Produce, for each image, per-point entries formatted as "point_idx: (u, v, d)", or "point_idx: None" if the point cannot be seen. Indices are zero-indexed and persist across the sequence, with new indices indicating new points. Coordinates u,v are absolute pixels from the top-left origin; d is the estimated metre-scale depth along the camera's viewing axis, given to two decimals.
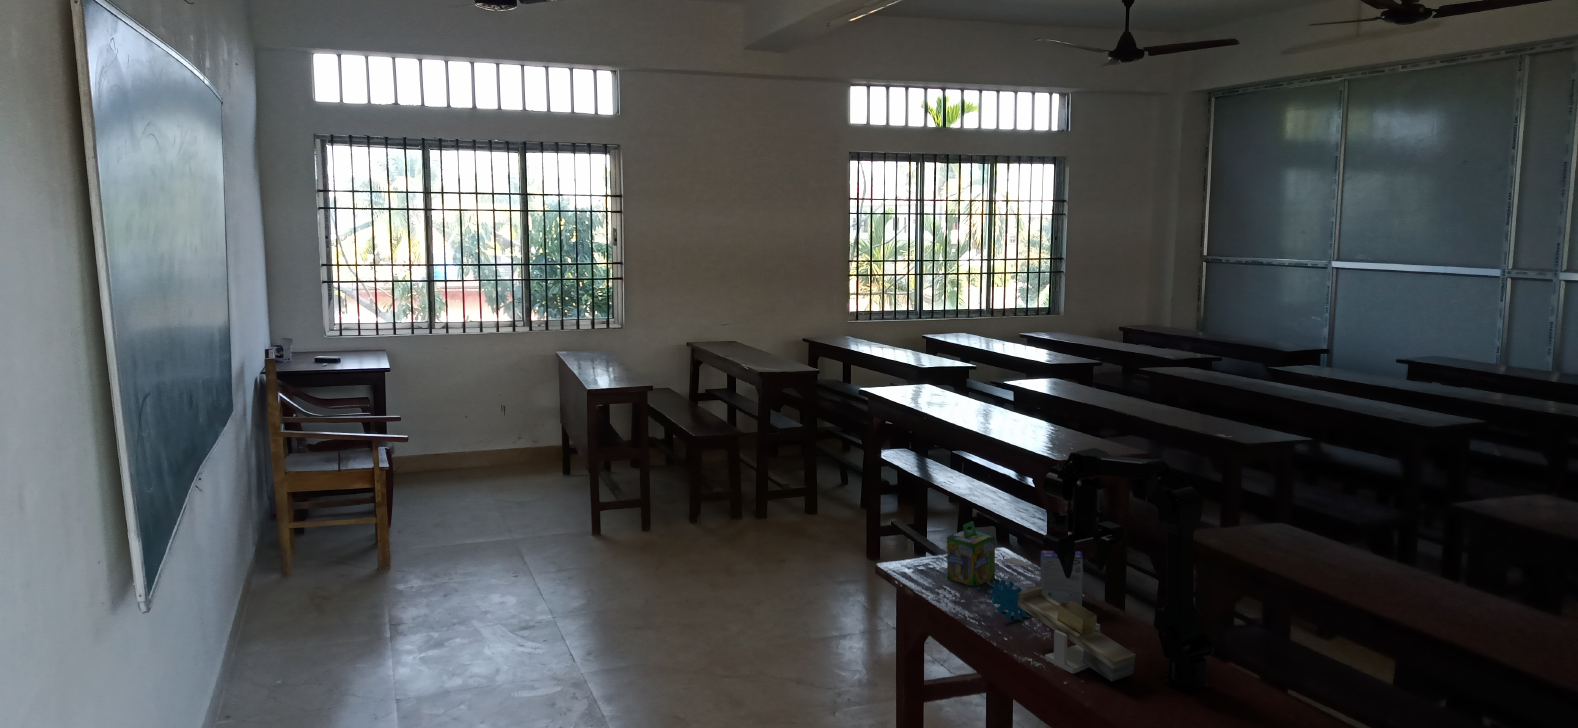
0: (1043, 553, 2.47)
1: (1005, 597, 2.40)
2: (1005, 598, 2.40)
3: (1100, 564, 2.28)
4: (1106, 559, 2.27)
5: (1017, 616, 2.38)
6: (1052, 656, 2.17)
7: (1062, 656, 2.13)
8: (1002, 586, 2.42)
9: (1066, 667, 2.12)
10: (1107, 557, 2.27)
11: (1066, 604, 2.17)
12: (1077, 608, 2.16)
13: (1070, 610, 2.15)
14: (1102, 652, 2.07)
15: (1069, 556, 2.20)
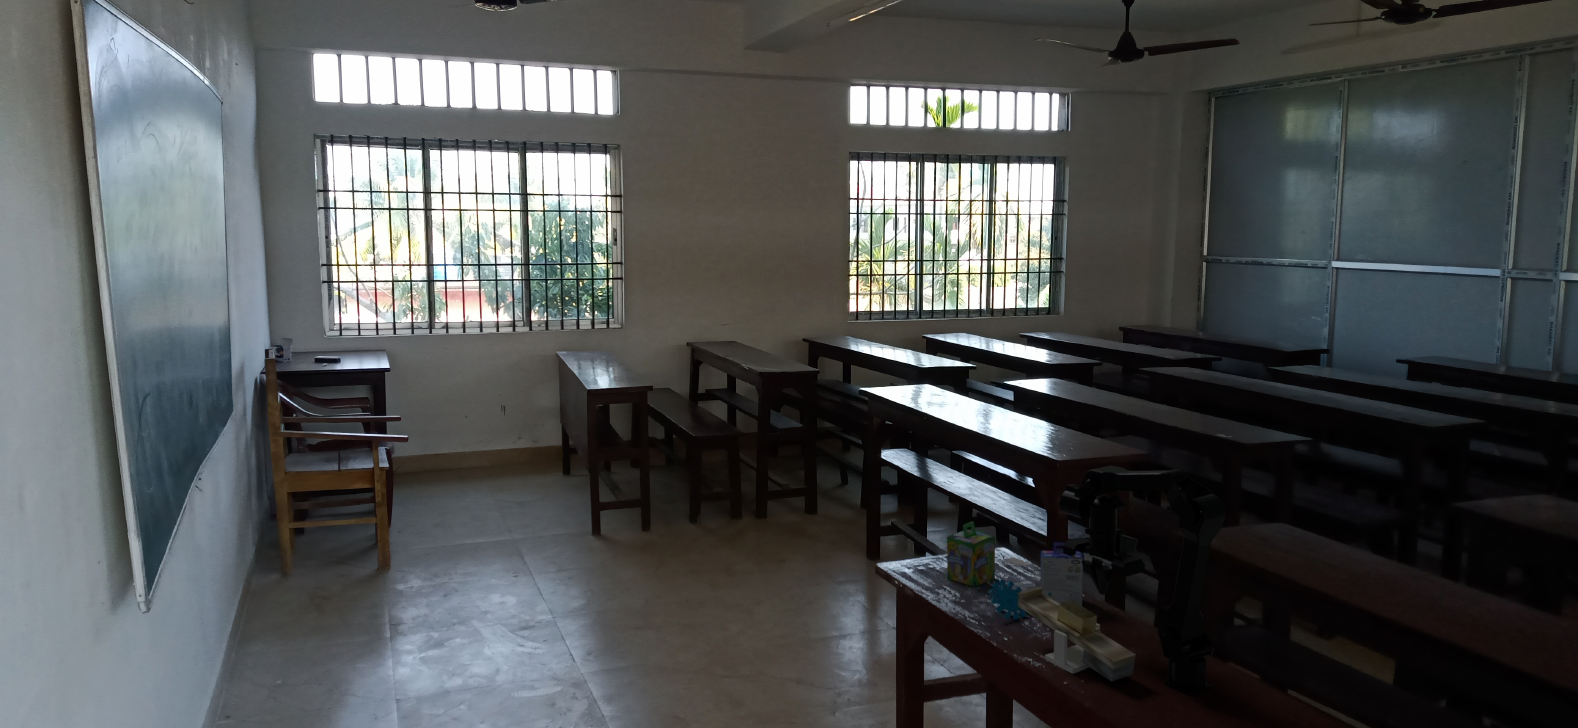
0: (1043, 553, 2.47)
1: (1005, 597, 2.41)
2: (1004, 597, 2.40)
3: None
4: (1099, 583, 2.21)
5: (1016, 616, 2.38)
6: (1052, 656, 2.17)
7: (1062, 656, 2.13)
8: (1002, 586, 2.43)
9: (1066, 667, 2.12)
10: (1099, 582, 2.20)
11: (1066, 604, 2.17)
12: (1077, 608, 2.16)
13: (1070, 610, 2.15)
14: (1102, 652, 2.07)
15: (1086, 566, 2.22)
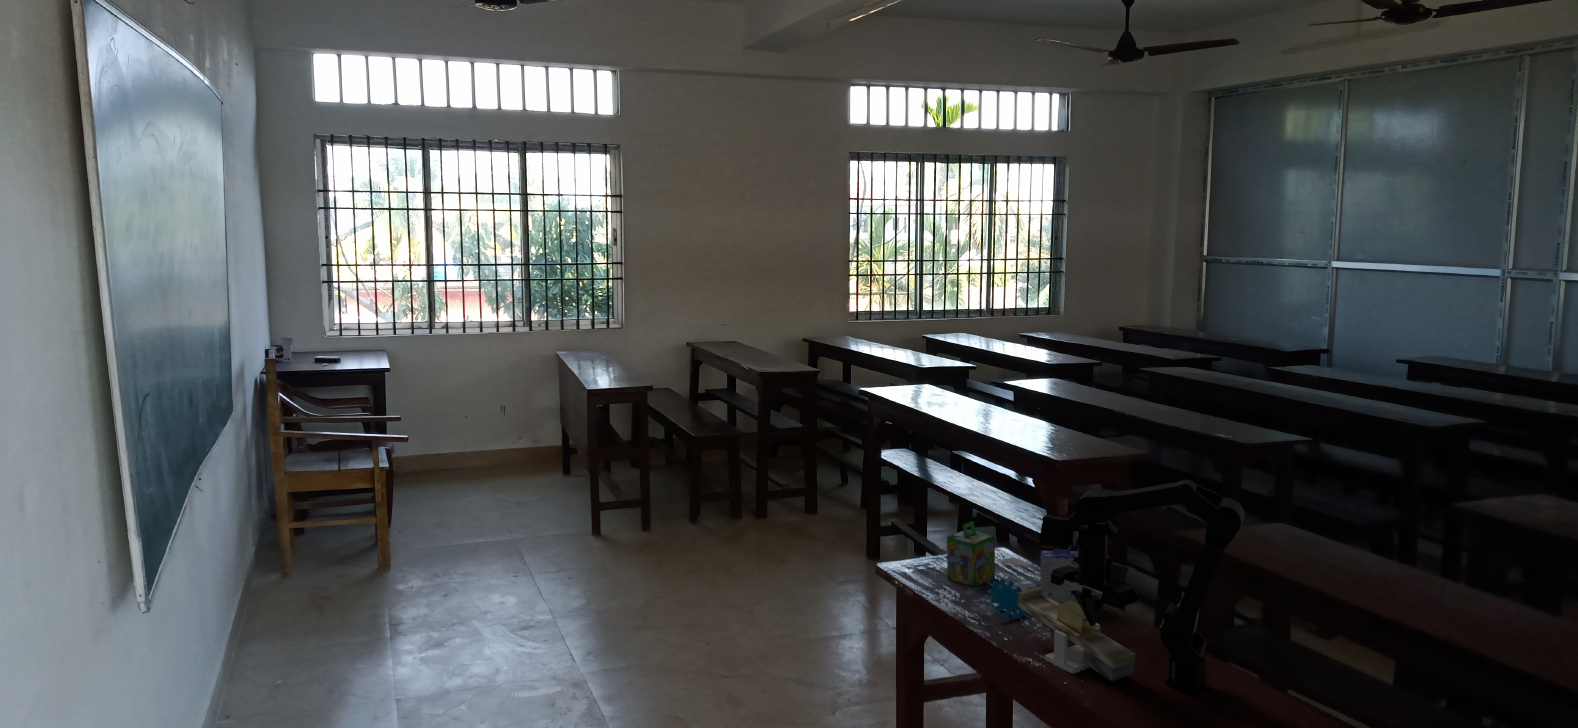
0: (1043, 553, 2.47)
1: (1004, 596, 2.41)
2: (1003, 597, 2.41)
3: None
4: (1088, 614, 2.10)
5: (1016, 615, 2.39)
6: (1052, 656, 2.17)
7: (1062, 656, 2.13)
8: (1001, 585, 2.43)
9: (1066, 667, 2.12)
10: (1088, 612, 2.10)
11: (1066, 604, 2.17)
12: (1077, 608, 2.16)
13: (1070, 610, 2.15)
14: (1102, 651, 2.07)
15: (1075, 597, 2.11)
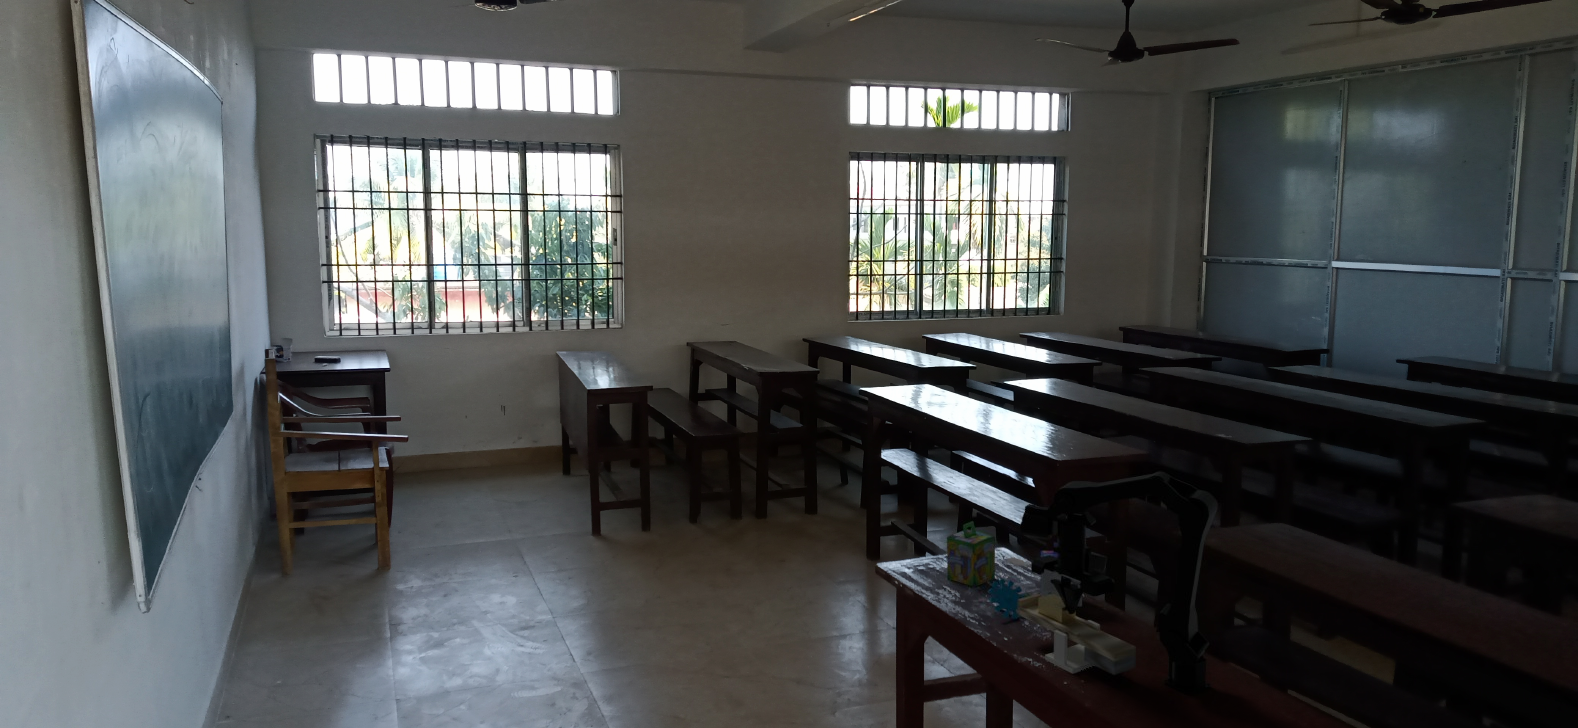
0: (1043, 553, 2.47)
1: (1004, 596, 2.41)
2: (1003, 597, 2.41)
3: None
4: (1067, 602, 2.15)
5: (1015, 615, 2.39)
6: (1052, 656, 2.17)
7: (1062, 656, 2.13)
8: (1001, 585, 2.43)
9: (1066, 667, 2.12)
10: (1067, 601, 2.15)
11: (1046, 596, 2.23)
12: (1056, 599, 2.21)
13: (1049, 601, 2.20)
14: (1102, 646, 2.07)
15: None
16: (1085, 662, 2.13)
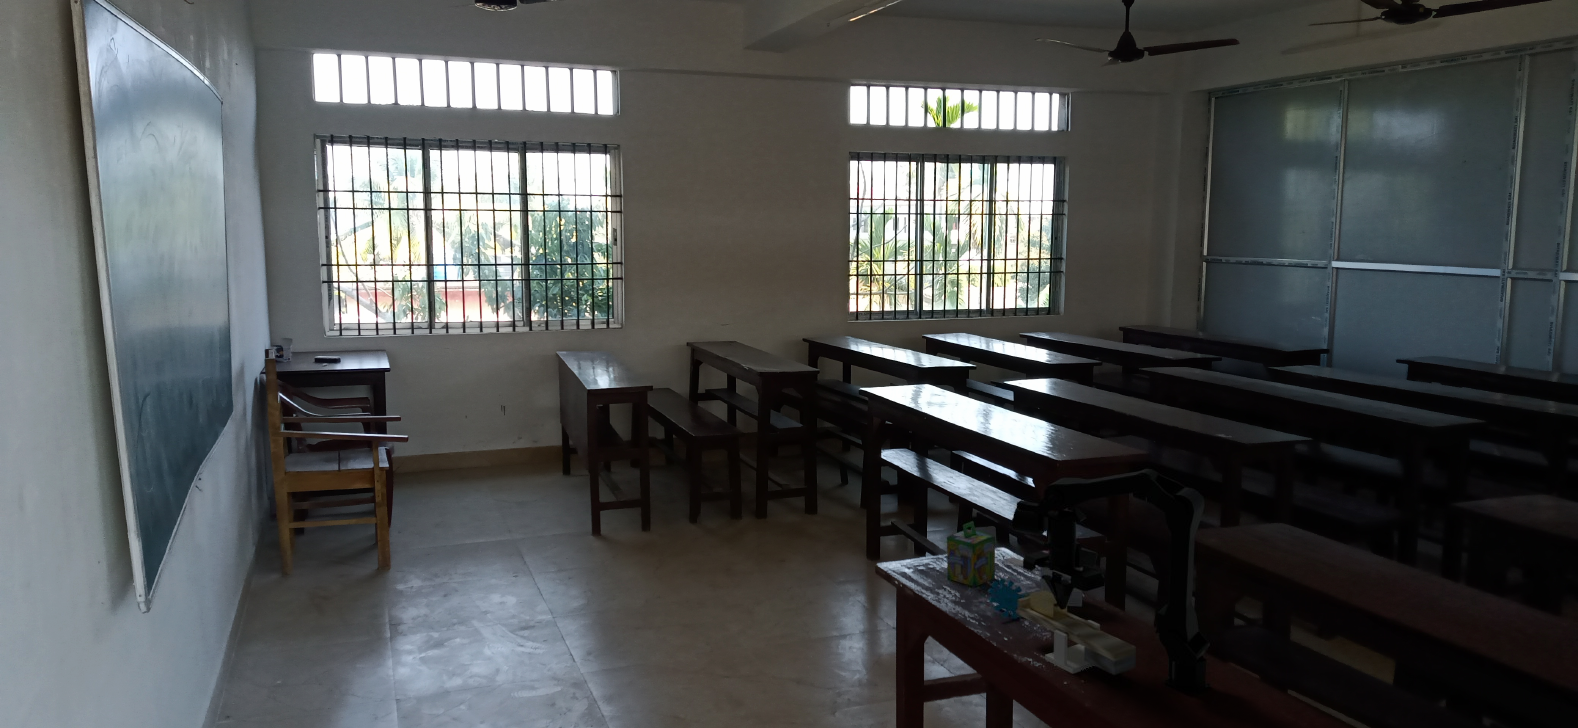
0: None
1: (1003, 596, 2.41)
2: (1003, 597, 2.41)
3: None
4: (1058, 598, 2.18)
5: (1015, 615, 2.39)
6: (1052, 656, 2.17)
7: (1062, 656, 2.13)
8: (1001, 585, 2.43)
9: (1066, 667, 2.12)
10: (1058, 596, 2.17)
11: (1038, 593, 2.25)
12: (1048, 595, 2.23)
13: (1041, 597, 2.22)
14: (1102, 646, 2.07)
15: (1046, 581, 2.19)
16: (1085, 662, 2.13)
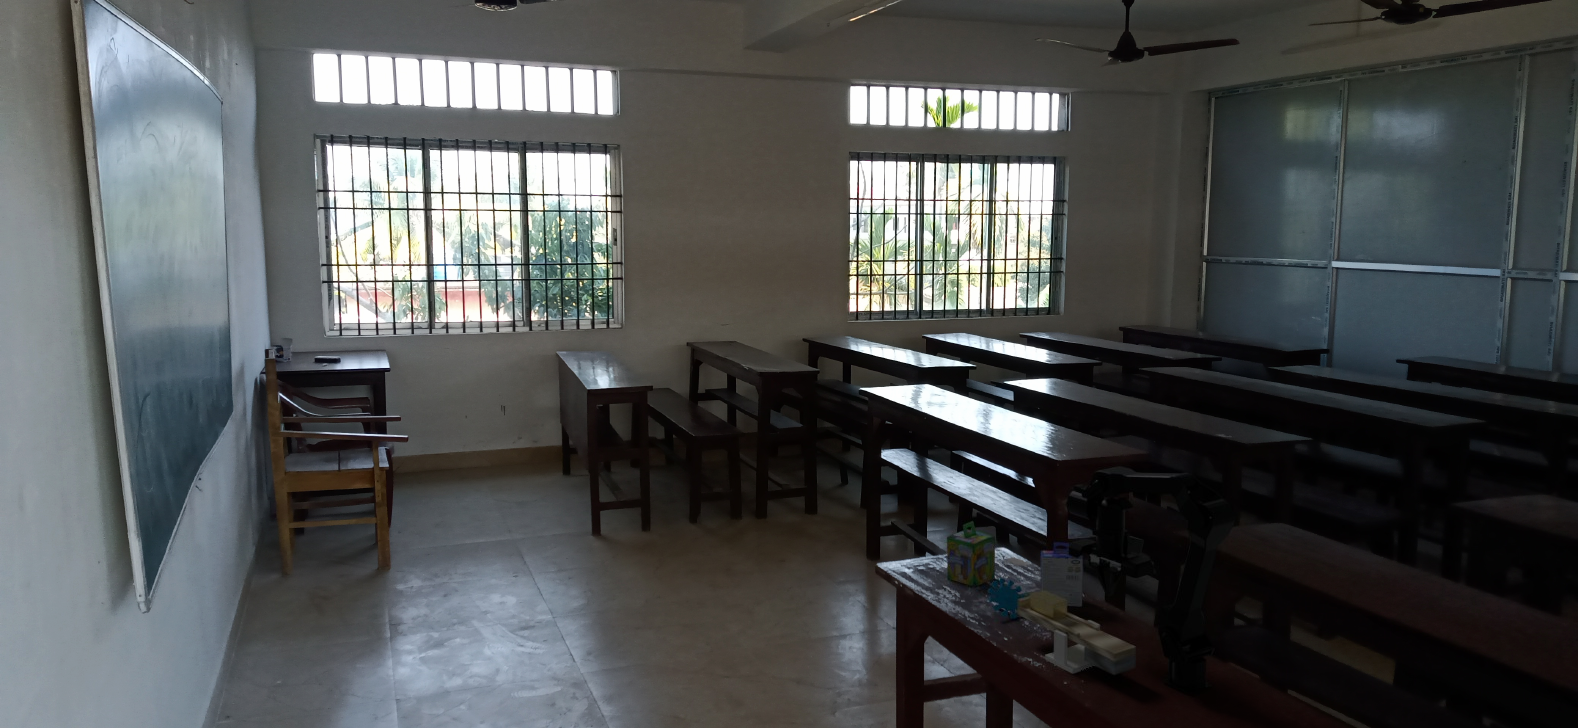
0: (1043, 553, 2.47)
1: (1003, 595, 2.41)
2: (1002, 596, 2.41)
3: None
4: (1106, 585, 2.19)
5: (1014, 615, 2.39)
6: (1052, 656, 2.17)
7: (1062, 656, 2.13)
8: (1001, 584, 2.43)
9: (1066, 667, 2.12)
10: (1106, 583, 2.19)
11: (1038, 593, 2.25)
12: (1048, 595, 2.23)
13: (1041, 597, 2.22)
14: (1102, 646, 2.07)
15: (1093, 568, 2.20)
16: (1085, 662, 2.13)
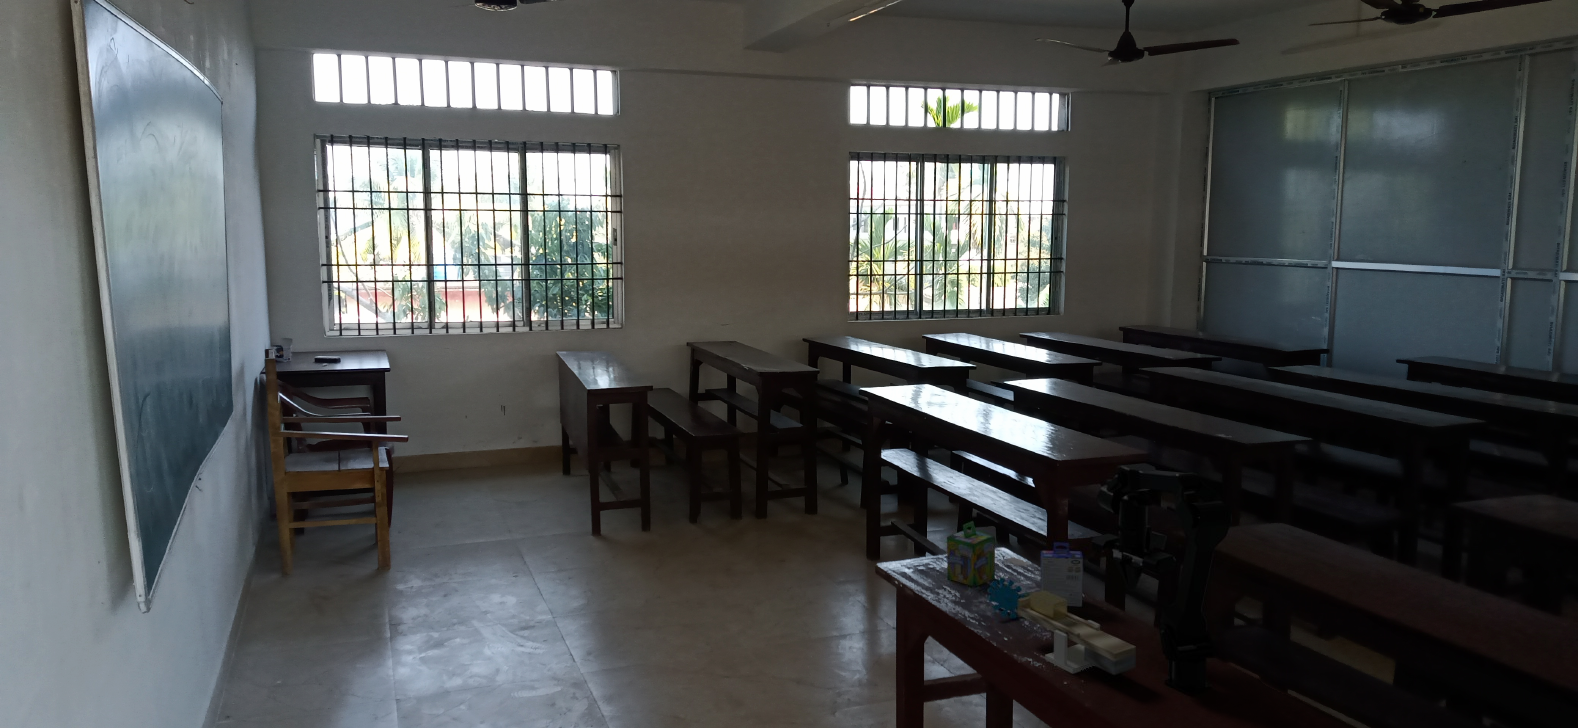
0: (1043, 553, 2.47)
1: (1003, 595, 2.41)
2: (1002, 596, 2.41)
3: None
4: (1128, 579, 2.21)
5: (1013, 614, 2.39)
6: (1052, 656, 2.17)
7: (1062, 656, 2.13)
8: (1001, 584, 2.44)
9: (1066, 667, 2.12)
10: (1128, 578, 2.21)
11: (1038, 593, 2.25)
12: (1048, 595, 2.23)
13: (1041, 597, 2.22)
14: (1102, 646, 2.07)
15: (1115, 563, 2.22)
16: (1085, 662, 2.13)
